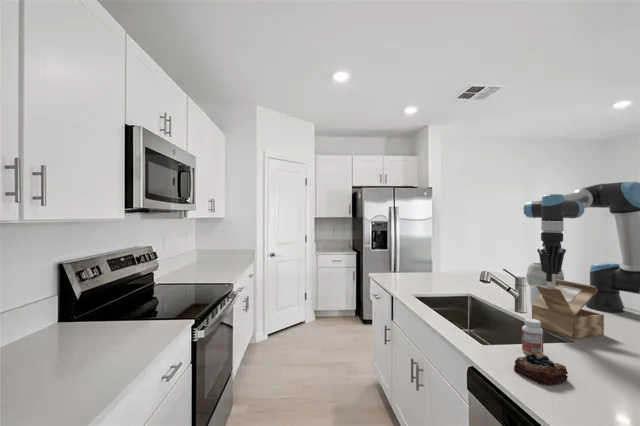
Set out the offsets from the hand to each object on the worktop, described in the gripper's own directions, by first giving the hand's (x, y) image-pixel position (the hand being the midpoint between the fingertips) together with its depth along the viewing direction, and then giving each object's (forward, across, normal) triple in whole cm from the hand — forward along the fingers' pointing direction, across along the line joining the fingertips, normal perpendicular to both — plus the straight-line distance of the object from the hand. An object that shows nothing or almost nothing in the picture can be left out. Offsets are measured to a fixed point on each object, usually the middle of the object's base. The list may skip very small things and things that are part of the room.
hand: (551, 289), depth 137 cm
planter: (+17, -31, -28) cm, 45 cm away
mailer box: (+17, -9, 0) cm, 19 cm away
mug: (+17, -20, -19) cm, 32 cm away
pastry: (+18, +39, +28) cm, 51 cm away
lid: (+4, -7, 0) cm, 8 cm away
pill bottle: (+18, +26, +15) cm, 35 cm away
